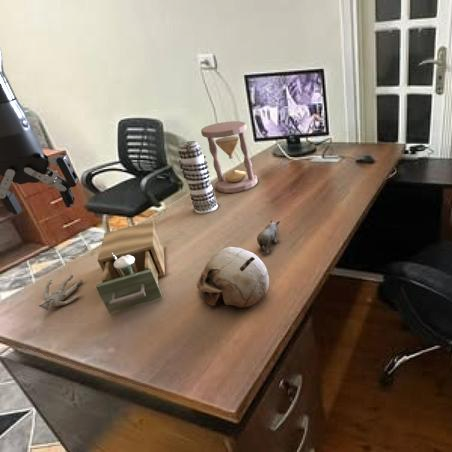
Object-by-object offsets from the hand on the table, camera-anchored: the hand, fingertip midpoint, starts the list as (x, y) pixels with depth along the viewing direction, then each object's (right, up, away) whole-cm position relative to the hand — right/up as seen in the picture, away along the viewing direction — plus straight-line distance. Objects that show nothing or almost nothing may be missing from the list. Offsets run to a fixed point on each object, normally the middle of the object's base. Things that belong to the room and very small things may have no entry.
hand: (44, 208), depth 68 cm
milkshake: (+6, -19, +20) cm, 28 cm away
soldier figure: (-13, -22, +22) cm, 34 cm away
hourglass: (+15, +14, +83) cm, 85 cm away
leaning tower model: (+8, +3, +64) cm, 64 cm away
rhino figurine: (+38, -8, +38) cm, 54 cm away
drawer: (+7, -20, +20) cm, 29 cm away
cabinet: (+1, -15, +32) cm, 35 cm away
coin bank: (+32, -20, +18) cm, 42 cm away
